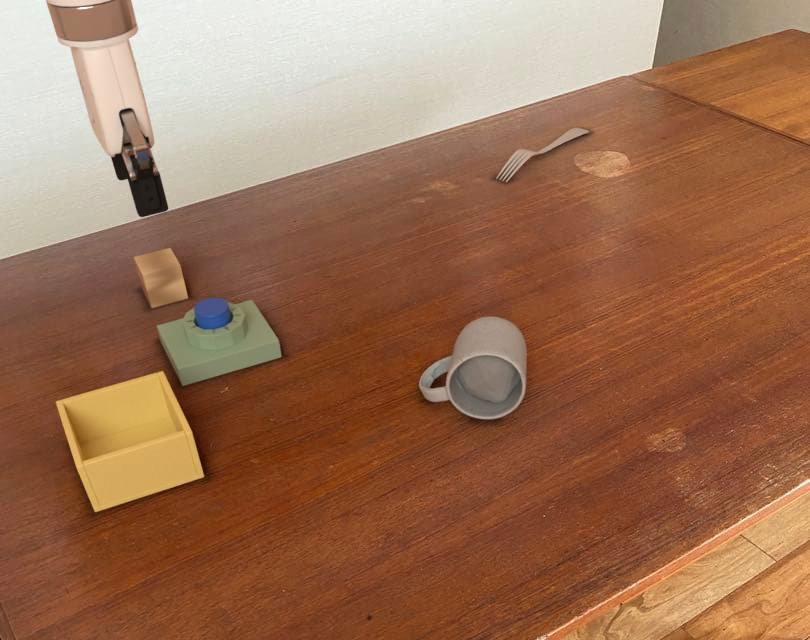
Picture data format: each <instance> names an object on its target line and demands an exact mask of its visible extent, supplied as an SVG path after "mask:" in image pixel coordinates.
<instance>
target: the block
mask: <svg viewBox="0 0 810 640" xmlns="http://www.w3.org/2000/svg"><path fill="white" fill-rule="evenodd" d="M133 260H134V265H135V267H136V272H137V275H138V278H139V282H140V285H141V288H142V292H143V294H144V296H145V297H146V300H147V301H148V304H149V306H150V308H151V309H154V308H157V307H158V308H159V307H161V306H165V305H170V304H173V303H176V302H181V301H184V300H187V299H189V295H188V291H187V286H186V283H185V278H184V274H183V270H182V265H181V264H180V261H179V260H178V257H176V255H175V253H174V251H173V250H172V248H171V247H168V248H164V249H159V250H156V251H152V252H147V253H144V254H139V255H136V256H133Z"/></svg>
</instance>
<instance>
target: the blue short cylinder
mask: <svg viewBox="0 0 810 640" xmlns="http://www.w3.org/2000/svg"><path fill="white" fill-rule="evenodd" d="M227 302H228V301H227V300H225V299H223V298H220V297H209V298H204V299H202V300H200V301H198V302H197V303H196V304H195V305H194V306H193V308H194V312H195V317H196V321H197V325H198V326H199V327H200V328H202V329H212V330H214V329H218V328H221V327H225V326H226V325H227V324H229V323H230V322H231V315H230V310H229V305H228V303H227Z"/></svg>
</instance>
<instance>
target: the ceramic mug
mask: <svg viewBox="0 0 810 640" xmlns="http://www.w3.org/2000/svg"><path fill="white" fill-rule="evenodd" d="M452 350H453V352H452V354H451V355H449V356H447V357H444V358H442V359H439V360H437V361H435V362H433V364H431V365H430V366H428V368H427V369H426V370H424V371H423V373H422V375H421V376H420V378H419V381H418V388H419V390H420V392H421V394H422V395H423V397H424V399H426V400H427V401H428V402H432V403H441V402H448V401H450V402H451V404H452V406H454V407H455V408H456V409H457V411H459V412H460V413H463V415H466V416H468V417H471V418H474V419H478V420H479V419H480V420H495V419H496V420H497V419H500V418H503V417H505V416H507V415H509V414H511V413H512V412H513V411H515V410H516V409H517V408H518V407H519V406H520V404H521V403H522V401H523V400H524V398H525V395H526V391H527V368H528V367H527V361H528V360H527V359H528V351H527V350H528V349H527V344H526V340H525V337H524V334H523V333H522V331H521V330H520V329H519V327H518V326H517V325H516V324H515V323H513V322H512V321H510V320H508V319H507V318H504V317H500V316H496V315H485V316H480V317H477V318H476V319H474V320H471V321H470V322H468V324H467V325H465V326H464V328H462V330H461V331H460V333H459V334H458V336H457V338H456V340H455V343H454V347H453V349H452ZM444 374H446V379H445V385H444V386H441V387H433V388H431V387H432V384H433V383H434V382H435V380H436V379H438V378H439V377H440V376H442V375H444Z"/></svg>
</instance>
